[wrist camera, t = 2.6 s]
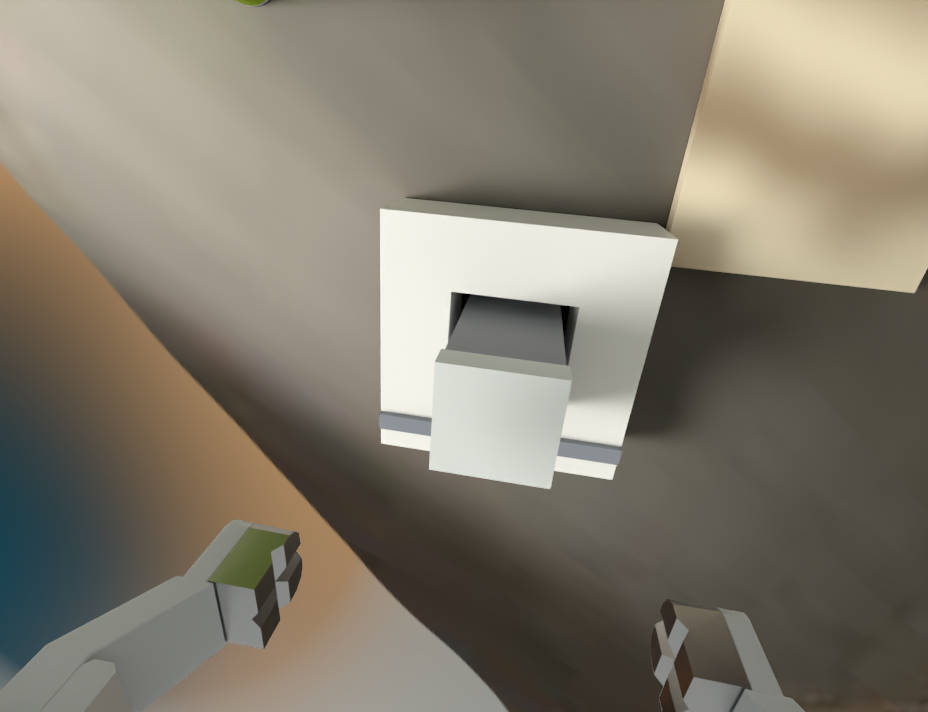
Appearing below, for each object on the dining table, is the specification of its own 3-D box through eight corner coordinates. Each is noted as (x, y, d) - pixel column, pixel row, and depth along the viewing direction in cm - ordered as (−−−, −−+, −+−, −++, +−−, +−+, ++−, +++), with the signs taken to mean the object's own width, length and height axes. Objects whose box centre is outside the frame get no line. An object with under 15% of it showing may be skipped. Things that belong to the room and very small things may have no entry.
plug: (473, 280, 22) (434, 361, 14) (561, 291, 22) (572, 381, 14) (466, 358, 24) (428, 469, 16) (547, 369, 24) (550, 489, 16)
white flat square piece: (404, 197, 21) (377, 209, 18) (657, 223, 20) (680, 241, 17) (400, 406, 26) (379, 447, 23) (603, 436, 25) (613, 484, 22)
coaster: (730, -21, 16) (739, -28, 16) (1049, -6, 15) (1074, -13, 15) (657, 260, 21) (661, 265, 20) (900, 287, 20) (914, 293, 19)
